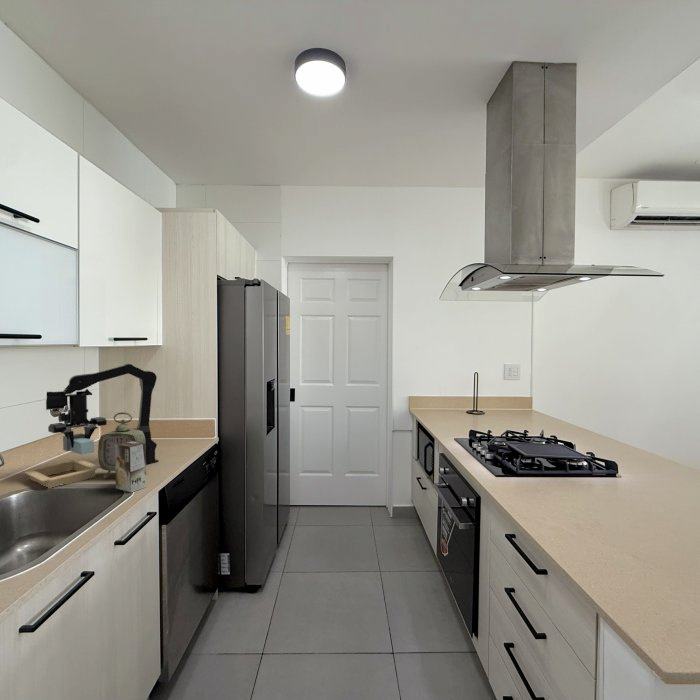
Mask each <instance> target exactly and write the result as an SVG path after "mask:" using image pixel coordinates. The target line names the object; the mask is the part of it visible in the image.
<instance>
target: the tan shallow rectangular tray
mask: <svg viewBox="0 0 700 700" xmlns="http://www.w3.org/2000/svg"><path fill="white" fill-rule="evenodd" d="M97 469H101V467H100V465H97V464H94V463H92V462H89V461H87V460H83V459H75V460H74V459H72V460H68V461H67V460H66V461H62V462H58V463H52V464H48V465H43V466H38V467H35V468H29V469H28V470H24V471H23V474H26V475H27V476H29V479H31V481H32V480H33V482H34V481H36V482H38V483H40V484H42V485H45V486H47V487H48V488H47V489H48V490H50V489H53V488H52V487H53V486H56V485H60V484H66V485H68V484H67V483H70V484H74V483H77V482H81V481H84V480H85V481H86V480H88V478H89V479H93V478H96V471H97ZM70 470H71V471H74V472H70ZM75 470H76V471H75ZM65 471H66V472H70V473H65ZM60 472H62V473H65V474H61V473H60ZM56 473H58V474H61V475H57V474H56ZM52 474H53V475H57V476H53V475H52ZM48 475H49V476H48ZM50 476H53V477H50ZM92 477H93V478H92ZM36 482H35V483H36ZM73 482H74V483H73ZM38 483H37V484H38ZM40 484H39V485H40ZM42 485H41V486H42Z"/></svg>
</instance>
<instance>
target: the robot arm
mask: <svg viewBox="0 0 700 700" xmlns="http://www.w3.org/2000/svg"><path fill="white" fill-rule="evenodd" d="M124 375H131V376H133V377H135V378H138V380H139V386H140V400H139V401H140V403H139V412H138V422H137V423H138V424H137V426H136V427H133V428H132V429H134V430H140V431H143V433H144V436H145V442H146V465H150V464H155V463H158V462H159V459H156V449H157V445H158V444H157V442H155V441H154V440H153V439H152V433H151V427H150V418H151V408H152V407H151V406H152V397H153V396H152V395H153V394H152V393H153V391H154V388H155V385H156V382H157V378H158V377H157V374H156V373H155V372H153V371H150V370H143V369H141V368H139V367H137V366H134V365H133V364H131V363H126V364H123V365H119V366H116V367H111V368H109V369H105V370H101V371H98V372H94V373H93V372H91V373H85V374H76V375H73V376H71V377H70V379H69V380H68V385H66V387H65V388H64V389H63V391H62V390H61V391H60V390H59V391H46V399H45V409H46V411H47V410H60V409H65V407H66V406H68V402H69V409H68V410H67V414H66V413H65V412H60V413H59V414H57V415H58V416H57V417H58V419H57V420H58V423H57V422H56V423H50V424H49V425H48V427H47V428H48V429H47V430H48V432H50V433H52V434H57V433H61V434H63V435H64V436H66V438H67V440H68V442H69V444H70V446H71V448H73V446H74V434H75V431H74V430H72V429H74V428H80V427H83V429H84V430H83V431H84V434H85V438H87V439H90V440H91V437H92V435H93V434H94V432H95V430H96V429H98V427H100V426H101V427H102V426H106V425H107V424H108V423H107V422H108V421H107V419H106V418H105V417H102V416H98V417H91V418H90V420H89V419H88V413H89V409H88V397H87V396H93V393H92V392H91V391H90V390H89V389H88V388H90V387H92V386H93V385H95V384H97V383H99V382H100V383H101V382H104V381H107V380H109V379H113V378H114V379H115V378H117V377H121V376H124ZM74 392H75V393H74ZM68 397H69V398H68ZM68 399H69V401H68Z"/></svg>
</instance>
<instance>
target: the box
mask: <svg viewBox="0 0 700 700" xmlns="http://www.w3.org/2000/svg"><path fill="white" fill-rule="evenodd" d="M62 446H63V447H62V449H63V450H62V451H65V452H72V453H75V454H79V455H80V456H81V455H82V456H83V455H87V454H90V453H91V454H92V453H94V452H95V440H93V439H91V438H90V439H87V438H85V433H81V432H80V433H74V446H73V448H71V446H70V444H69V442H68V440H67V438H66V436H65V435H64V436H62Z"/></svg>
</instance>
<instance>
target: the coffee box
mask: <svg viewBox="0 0 700 700" xmlns="http://www.w3.org/2000/svg"><path fill="white" fill-rule="evenodd" d="M115 467H116V471H115V489H118V490H121V491H124V492H129V493H133V492H136V491H140V490H142V489H145V488H147V464H146V443H142V442H136V441H126V442H122V443H118V444H115Z"/></svg>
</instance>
